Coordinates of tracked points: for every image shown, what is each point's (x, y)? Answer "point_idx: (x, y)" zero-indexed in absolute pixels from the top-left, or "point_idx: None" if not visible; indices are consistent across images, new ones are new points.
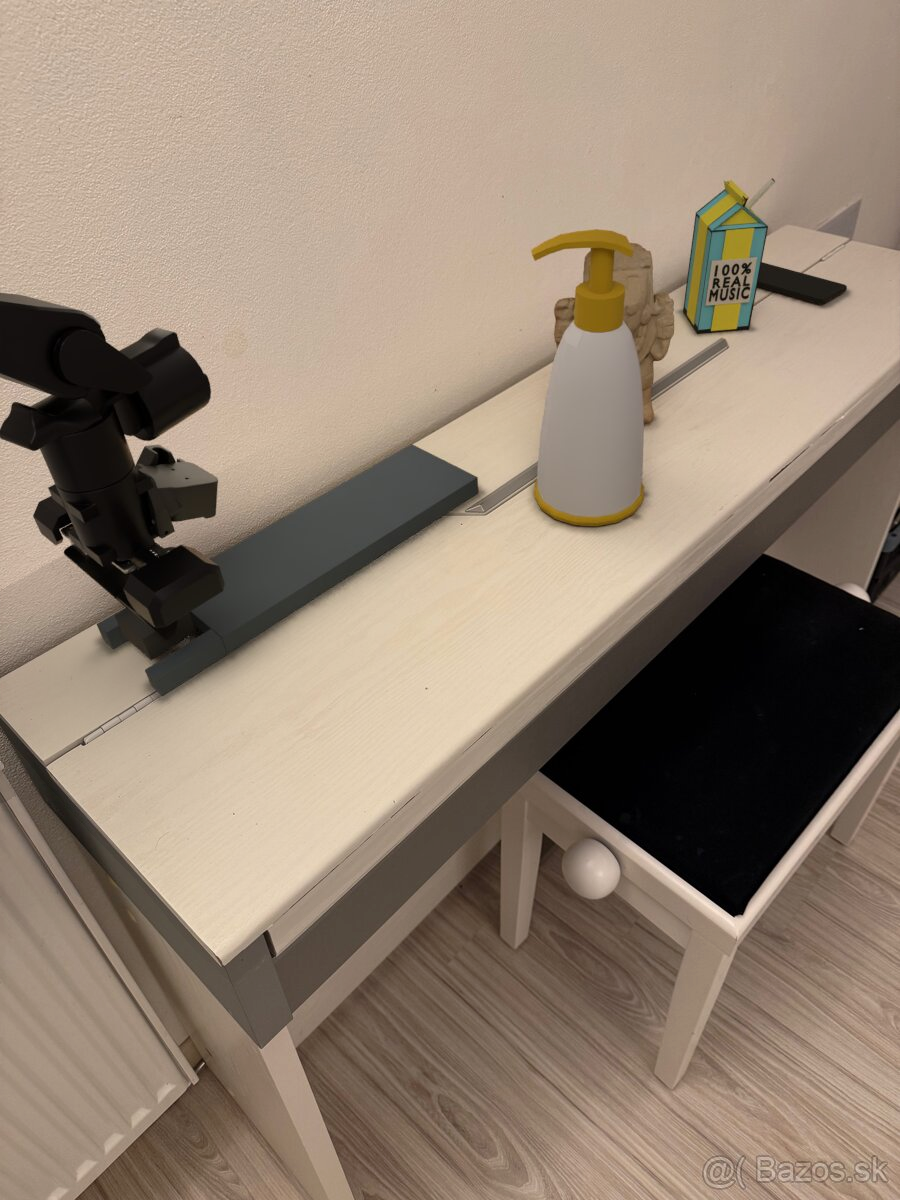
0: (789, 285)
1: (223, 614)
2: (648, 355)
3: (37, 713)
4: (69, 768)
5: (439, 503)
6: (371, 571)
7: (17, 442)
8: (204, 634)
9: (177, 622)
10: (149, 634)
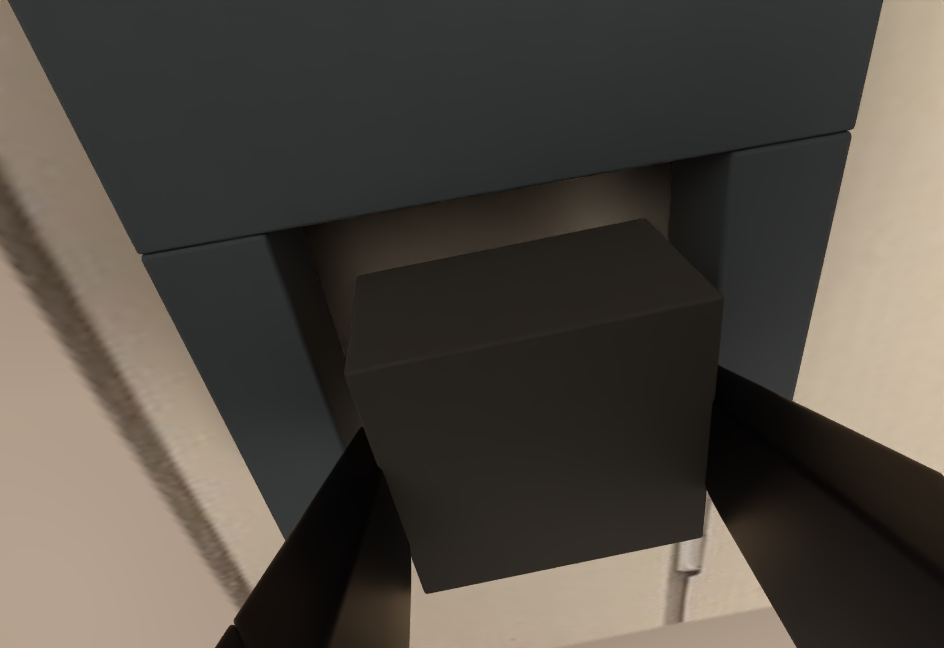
0: None
1: (696, 17)
2: None
3: (503, 630)
4: (732, 600)
5: None
6: None
7: None
8: (738, 202)
9: (779, 395)
10: (701, 510)
